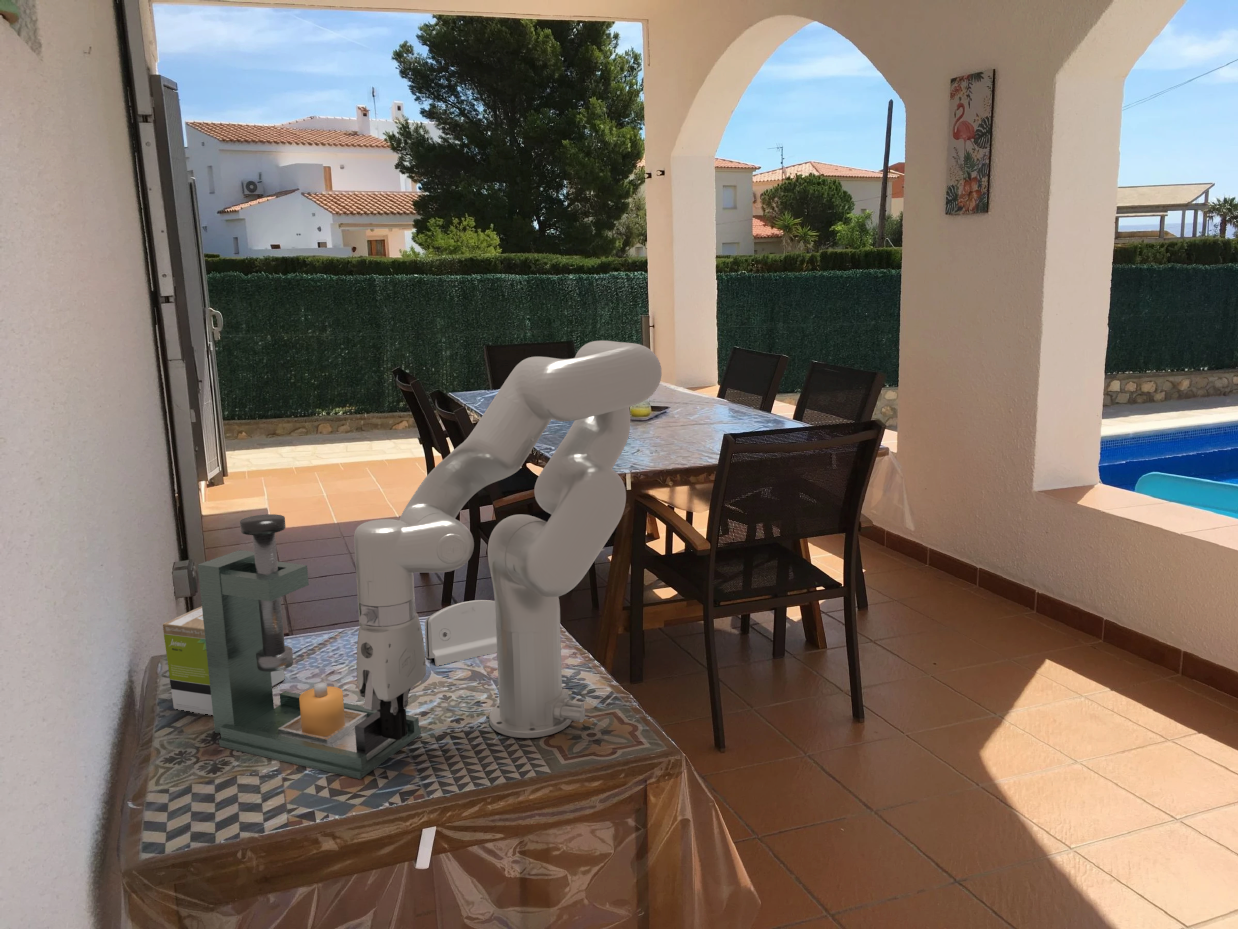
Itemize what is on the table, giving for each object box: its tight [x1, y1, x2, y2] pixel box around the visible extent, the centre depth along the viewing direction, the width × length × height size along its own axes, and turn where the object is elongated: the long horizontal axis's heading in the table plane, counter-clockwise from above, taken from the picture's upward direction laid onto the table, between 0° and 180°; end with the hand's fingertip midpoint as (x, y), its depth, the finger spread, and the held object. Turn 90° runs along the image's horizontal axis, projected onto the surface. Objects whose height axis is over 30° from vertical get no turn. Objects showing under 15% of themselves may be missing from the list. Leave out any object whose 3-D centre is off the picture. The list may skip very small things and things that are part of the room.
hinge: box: [424, 599, 497, 667], centre depth 172 cm, size 17×5×10 cm, turn 122°
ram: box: [239, 513, 294, 672], centre depth 138 cm, size 6×6×22 cm
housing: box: [299, 682, 345, 736], centre depth 138 cm, size 6×6×6 cm
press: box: [197, 549, 422, 780], centre depth 137 cm, size 29×14×26 cm, turn 67°
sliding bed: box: [278, 709, 408, 761], centre depth 137 cm, size 15×10×5 cm, turn 67°
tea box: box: [162, 605, 286, 716], centre depth 153 cm, size 15×10×15 cm
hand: (394, 736), depth 133 cm, fingers closed
